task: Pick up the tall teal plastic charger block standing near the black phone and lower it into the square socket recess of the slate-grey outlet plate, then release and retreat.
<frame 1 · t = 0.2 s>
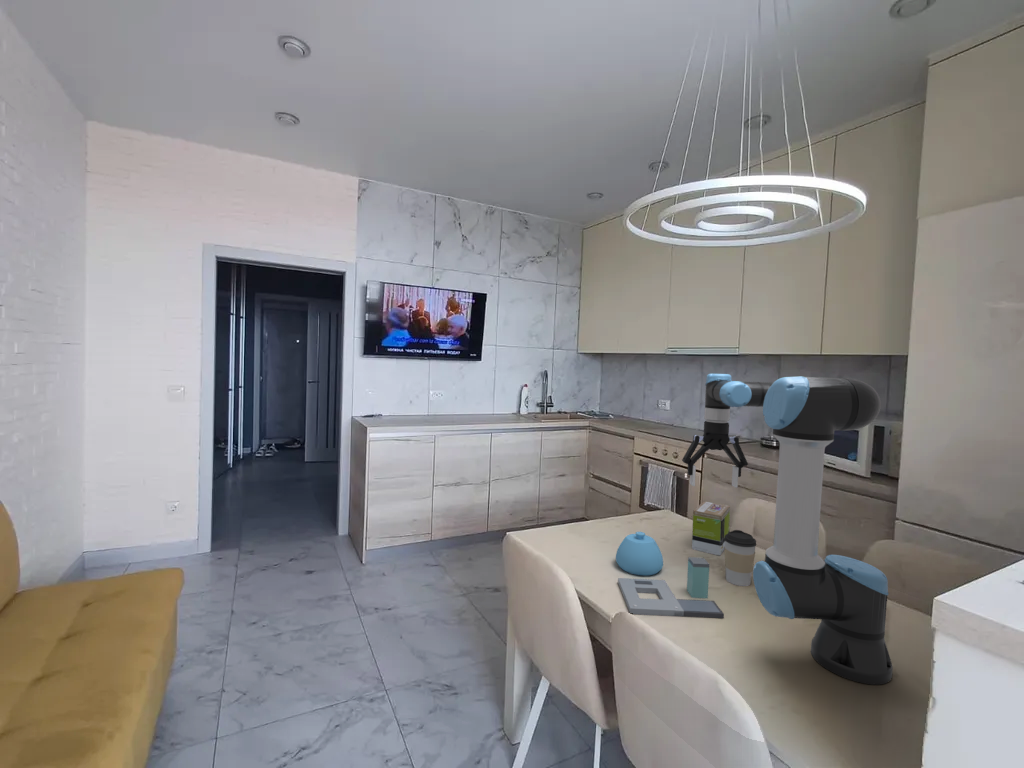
hand: (713, 485, 157), 27 cm above the table, fingers open, 13 cm apart
charger block: (697, 594, 140), on the table
phone: (694, 610, 131), on the table
coffee cup: (737, 581, 149), on the table
tea box: (710, 547, 177), on the table
sugar bowl: (638, 568, 157), on the table
outlet plate: (648, 598, 137), on the table
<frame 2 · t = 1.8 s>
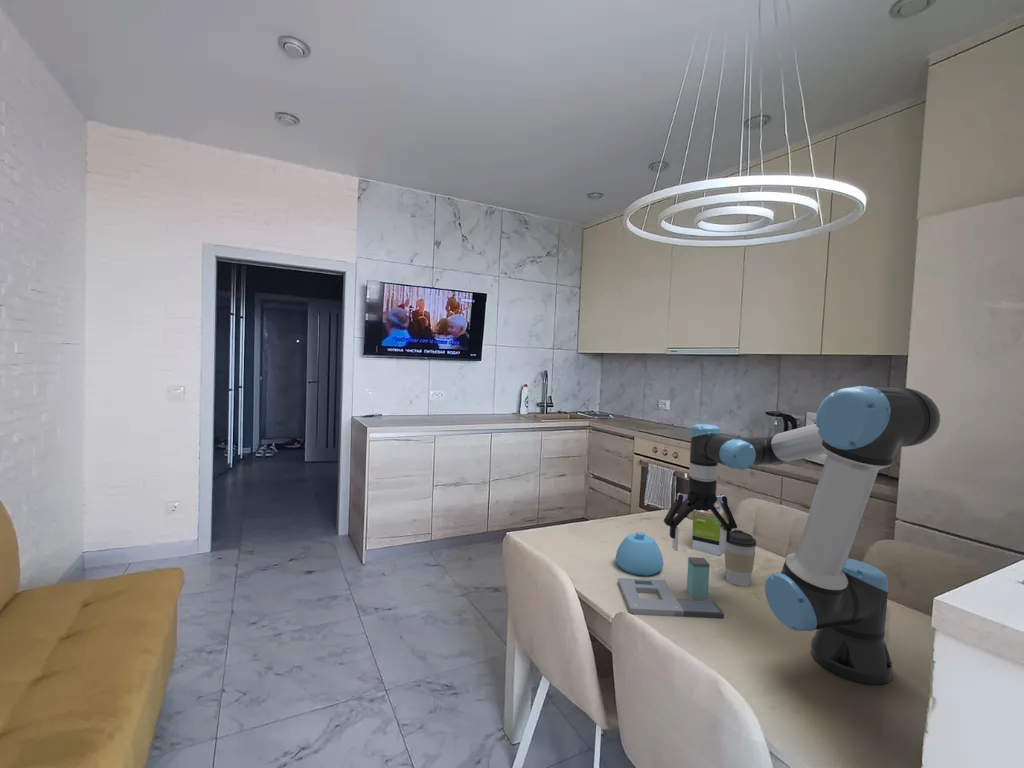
hand: (698, 550, 140), 13 cm above the table, fingers open, 13 cm apart
nothing on the table moved.
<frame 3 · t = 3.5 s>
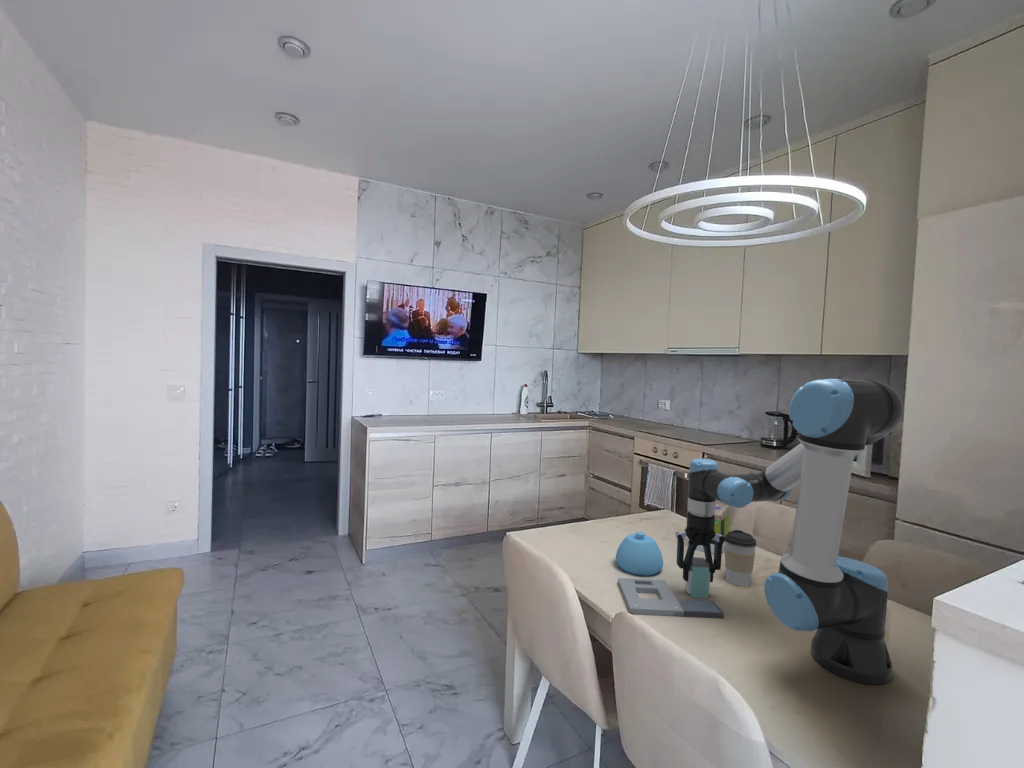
hand: (697, 591, 140), 1 cm above the table, fingers closed on charger block, 4 cm apart
charger block: (697, 594, 140), on the table, touching gripper
everything else where it was.
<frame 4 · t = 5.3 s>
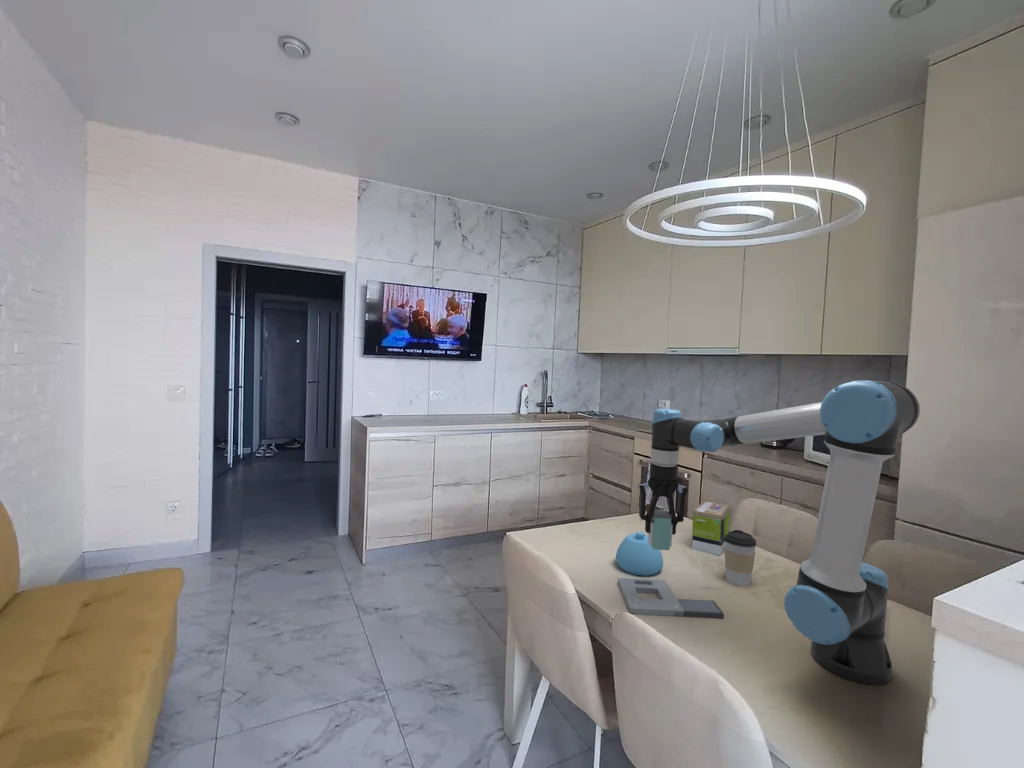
hand: (659, 544, 137), 15 cm above the table, fingers closed on charger block, 4 cm apart
charger block: (659, 546, 137), point 15 cm above the table, touching gripper
everything else where it was.
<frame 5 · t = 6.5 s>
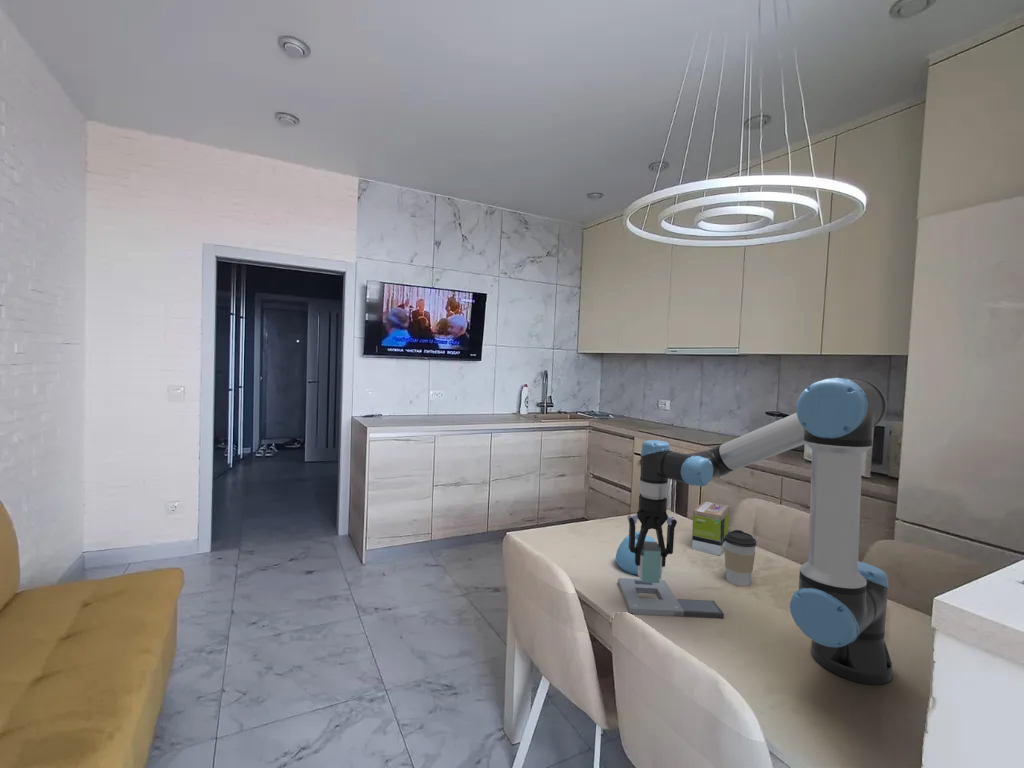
hand: (649, 576, 136), 6 cm above the table, fingers closed on charger block, 4 cm apart
charger block: (649, 578, 136), point 6 cm above the table, touching gripper
everything else where it was.
when the fingers open (3 cm above the table, at t = 7.4 s): charger block drops 2 cm, resting in outlet plate.
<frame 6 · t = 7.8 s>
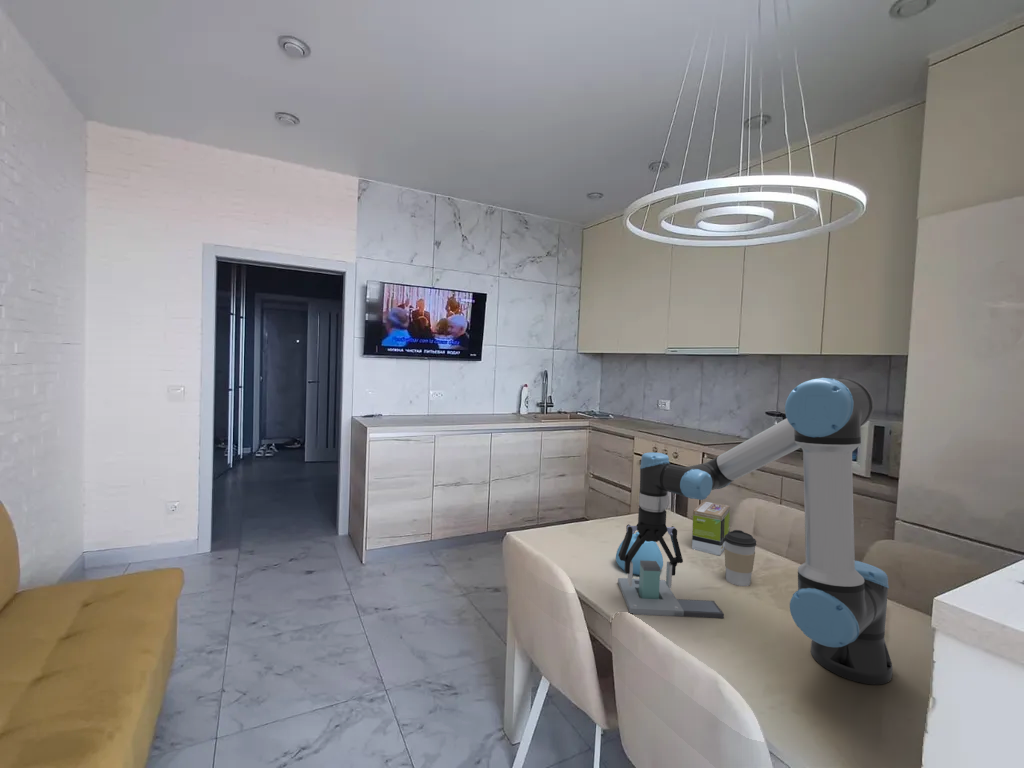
hand: (649, 585, 136), 4 cm above the table, fingers open, 10 cm apart
charger block: (648, 598, 137), resting in outlet plate
everything else where it was.
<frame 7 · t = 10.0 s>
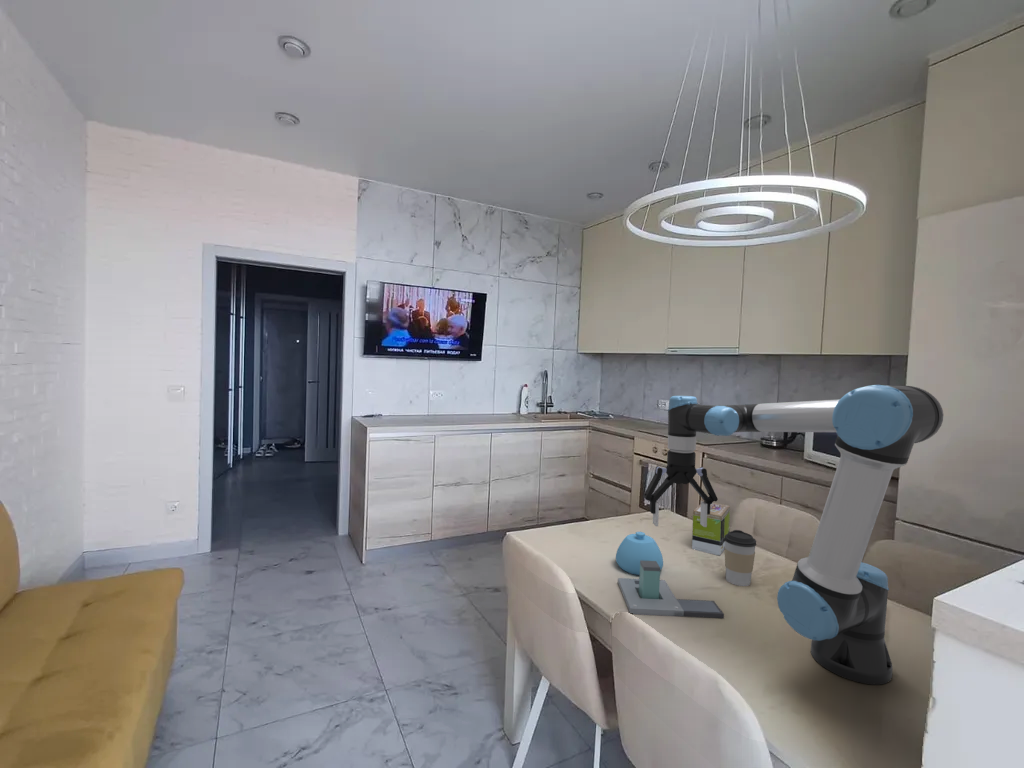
hand: (679, 525, 136), 21 cm above the table, fingers open, 13 cm apart
nothing on the table moved.
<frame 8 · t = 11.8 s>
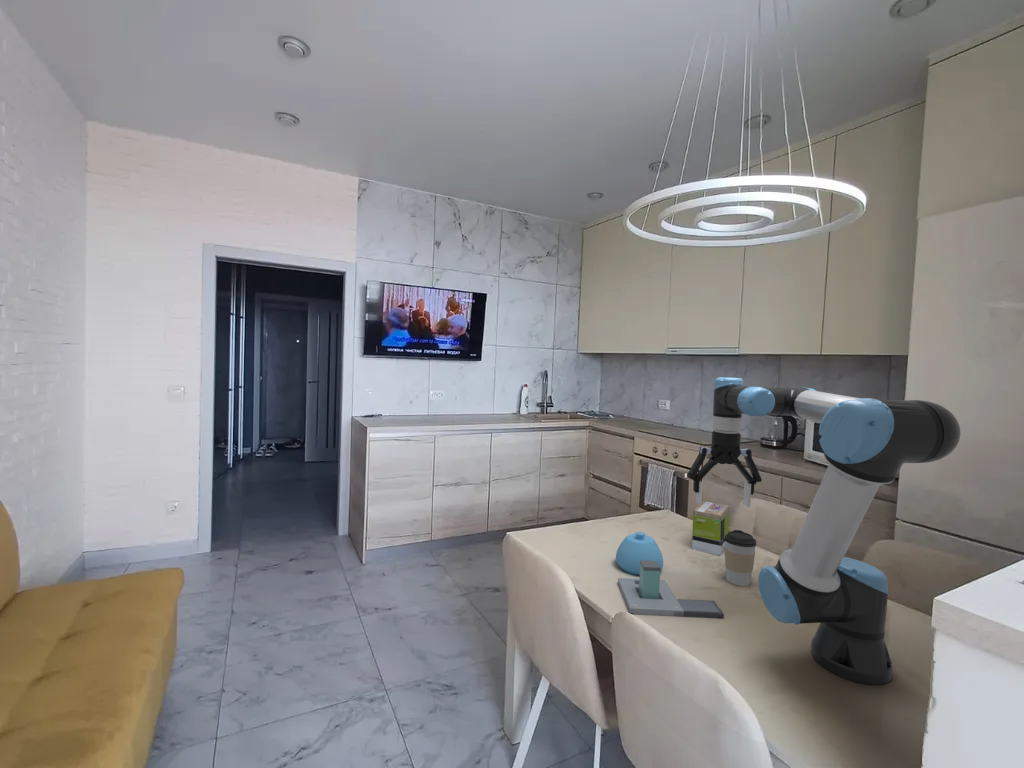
hand: (722, 504, 138), 27 cm above the table, fingers open, 13 cm apart
nothing on the table moved.
at the end: charger block 0.1 cm off-centre on the outlet plate, point 0.0 cm above the outlet plate's base; charger block tilted 0°; the gripper is holding nothing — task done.
